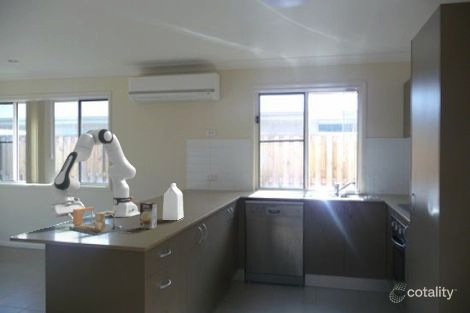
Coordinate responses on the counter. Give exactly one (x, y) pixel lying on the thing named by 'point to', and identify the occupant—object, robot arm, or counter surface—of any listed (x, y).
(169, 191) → the milk
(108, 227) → the hole plate
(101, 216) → the fixed leg
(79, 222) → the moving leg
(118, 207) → the robot arm
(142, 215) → the coffee box
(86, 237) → the counter surface
